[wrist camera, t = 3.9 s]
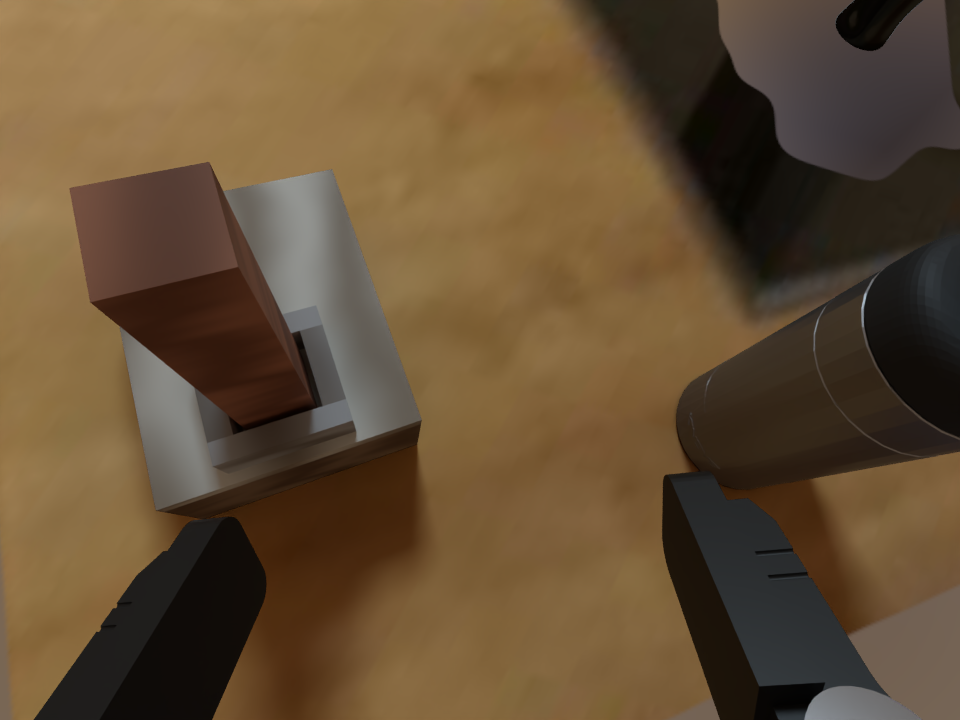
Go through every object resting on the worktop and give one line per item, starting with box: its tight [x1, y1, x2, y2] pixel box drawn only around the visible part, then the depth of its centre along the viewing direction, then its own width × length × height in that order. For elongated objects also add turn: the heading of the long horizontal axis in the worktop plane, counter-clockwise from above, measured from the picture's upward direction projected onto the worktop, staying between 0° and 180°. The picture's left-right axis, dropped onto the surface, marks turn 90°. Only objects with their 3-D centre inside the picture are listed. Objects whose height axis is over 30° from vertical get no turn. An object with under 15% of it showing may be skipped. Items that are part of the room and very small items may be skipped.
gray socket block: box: [120, 169, 422, 519], centre depth 32 cm, size 14×18×10 cm
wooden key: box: [70, 162, 318, 430], centre depth 22 cm, size 4×4×16 cm
